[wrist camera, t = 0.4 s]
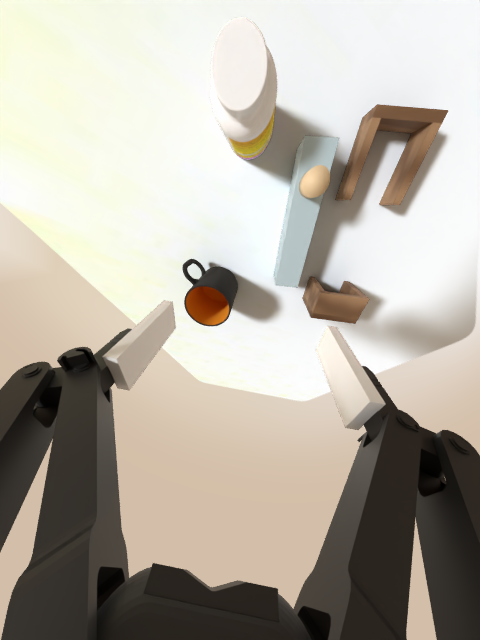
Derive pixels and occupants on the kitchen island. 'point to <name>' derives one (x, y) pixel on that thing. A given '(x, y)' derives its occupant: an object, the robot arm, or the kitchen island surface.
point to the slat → (303, 206)
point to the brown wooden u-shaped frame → (422, 135)
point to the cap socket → (334, 302)
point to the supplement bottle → (243, 87)
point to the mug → (210, 294)
